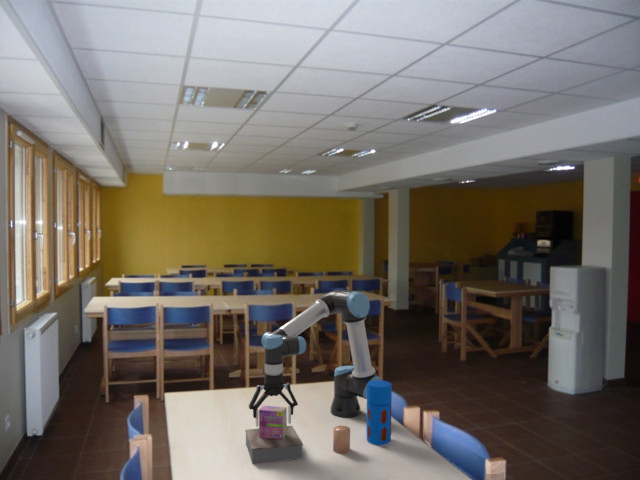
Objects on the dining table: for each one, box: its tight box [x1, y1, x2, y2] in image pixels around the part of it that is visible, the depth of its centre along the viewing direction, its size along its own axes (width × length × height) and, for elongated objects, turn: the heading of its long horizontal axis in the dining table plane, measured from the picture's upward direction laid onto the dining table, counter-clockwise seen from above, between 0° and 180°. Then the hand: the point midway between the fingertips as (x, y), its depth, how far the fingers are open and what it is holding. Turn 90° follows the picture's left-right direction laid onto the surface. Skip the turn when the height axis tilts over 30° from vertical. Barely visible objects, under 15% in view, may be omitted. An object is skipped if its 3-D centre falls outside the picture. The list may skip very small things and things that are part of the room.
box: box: [258, 405, 288, 440], centre depth 217 cm, size 10×6×12 cm, turn 79°
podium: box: [244, 425, 304, 464], centre depth 217 cm, size 21×21×6 cm
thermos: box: [365, 380, 393, 446], centre depth 230 cm, size 11×11×25 cm
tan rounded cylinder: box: [332, 425, 351, 455], centre depth 219 cm, size 7×7×9 cm
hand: (273, 424), depth 217 cm, fingers open, 13 cm apart
